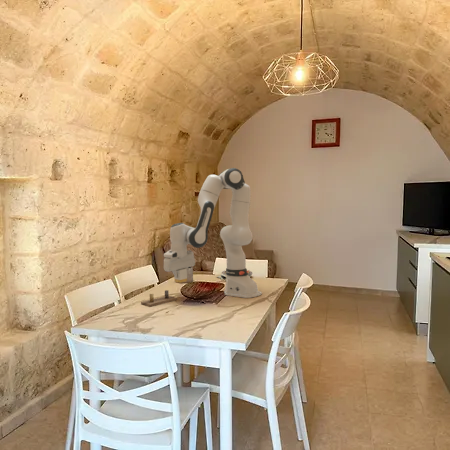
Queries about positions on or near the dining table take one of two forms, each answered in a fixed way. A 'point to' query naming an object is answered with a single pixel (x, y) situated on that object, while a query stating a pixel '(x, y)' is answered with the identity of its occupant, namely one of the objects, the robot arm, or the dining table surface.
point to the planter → (189, 275)
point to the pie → (226, 275)
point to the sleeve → (181, 275)
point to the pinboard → (158, 300)
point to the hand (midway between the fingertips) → (180, 276)
